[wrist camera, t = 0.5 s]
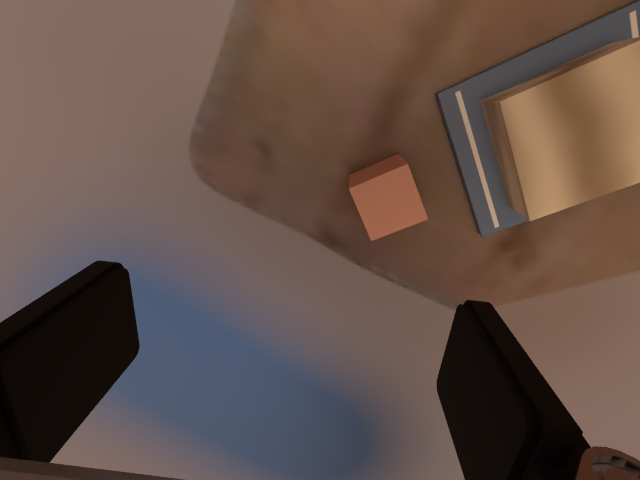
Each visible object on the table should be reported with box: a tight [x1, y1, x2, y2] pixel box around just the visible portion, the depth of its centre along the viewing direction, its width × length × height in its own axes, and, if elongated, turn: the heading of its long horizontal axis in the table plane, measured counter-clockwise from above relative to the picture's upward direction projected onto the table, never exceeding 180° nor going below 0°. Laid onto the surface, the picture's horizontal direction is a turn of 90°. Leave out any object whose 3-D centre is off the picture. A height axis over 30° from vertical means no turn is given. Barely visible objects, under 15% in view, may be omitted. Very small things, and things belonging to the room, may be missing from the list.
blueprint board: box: [435, 0, 640, 237], centre depth 29 cm, size 16×14×1 cm
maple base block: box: [481, 37, 640, 221], centre depth 27 cm, size 10×10×4 cm
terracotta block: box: [349, 154, 428, 241], centre depth 31 cm, size 5×5×6 cm
